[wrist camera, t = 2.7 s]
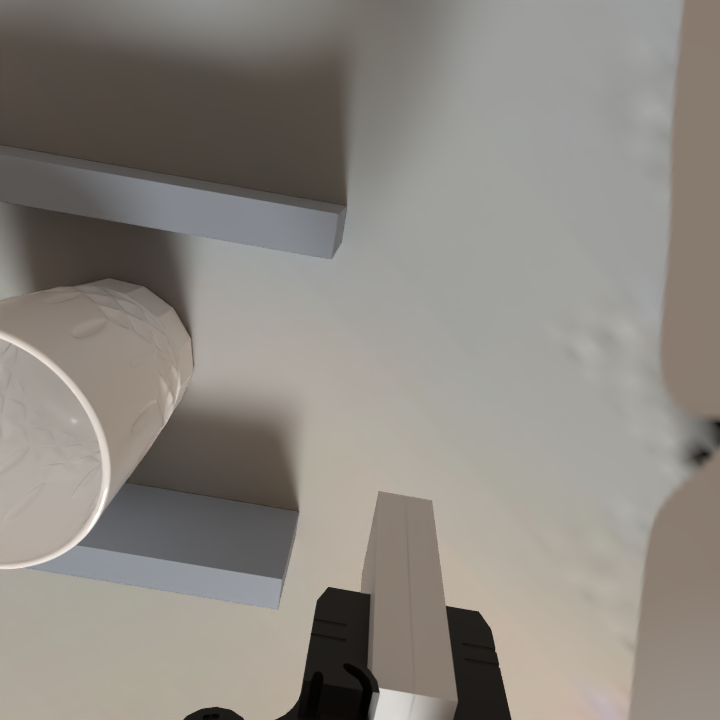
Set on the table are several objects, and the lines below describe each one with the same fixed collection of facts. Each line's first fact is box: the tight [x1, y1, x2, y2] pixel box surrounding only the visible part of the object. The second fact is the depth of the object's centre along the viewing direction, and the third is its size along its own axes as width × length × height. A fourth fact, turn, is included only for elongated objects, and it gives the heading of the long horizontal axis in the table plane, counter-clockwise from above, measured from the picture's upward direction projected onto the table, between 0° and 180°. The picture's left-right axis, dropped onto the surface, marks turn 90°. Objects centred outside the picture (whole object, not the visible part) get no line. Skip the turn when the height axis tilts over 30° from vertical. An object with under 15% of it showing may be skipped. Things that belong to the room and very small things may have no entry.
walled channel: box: [0, 145, 347, 610], centre depth 24 cm, size 16×16×5 cm
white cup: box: [0, 278, 194, 569], centre depth 22 cm, size 8×8×10 cm
